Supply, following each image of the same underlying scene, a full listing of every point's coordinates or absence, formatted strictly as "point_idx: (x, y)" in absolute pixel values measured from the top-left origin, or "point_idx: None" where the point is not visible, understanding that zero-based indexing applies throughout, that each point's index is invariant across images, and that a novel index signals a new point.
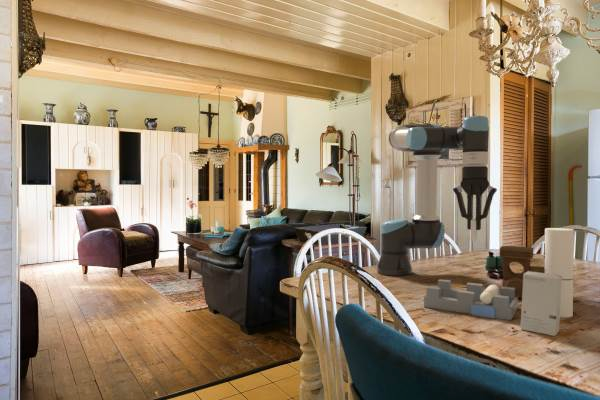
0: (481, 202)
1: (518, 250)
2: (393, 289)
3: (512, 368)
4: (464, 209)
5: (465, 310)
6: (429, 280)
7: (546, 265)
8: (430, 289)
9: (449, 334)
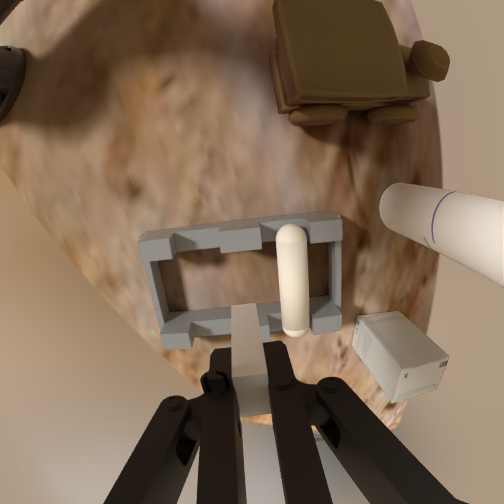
0: (326, 484)
1: (370, 96)
2: (51, 235)
3: None
4: (170, 447)
5: None
6: (70, 85)
7: (444, 250)
8: (173, 347)
9: None
